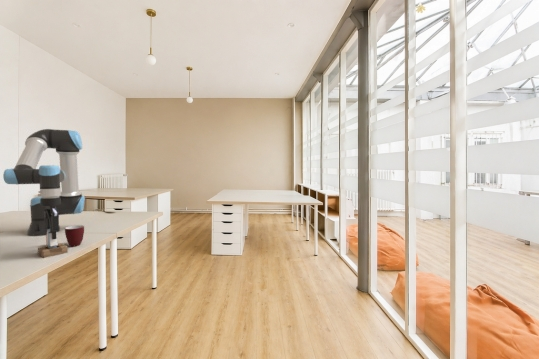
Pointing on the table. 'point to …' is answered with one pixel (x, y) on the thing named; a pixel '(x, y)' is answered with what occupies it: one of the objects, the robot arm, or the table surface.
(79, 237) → the mug
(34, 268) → the table surface
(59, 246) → the socket block
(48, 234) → the long peg
